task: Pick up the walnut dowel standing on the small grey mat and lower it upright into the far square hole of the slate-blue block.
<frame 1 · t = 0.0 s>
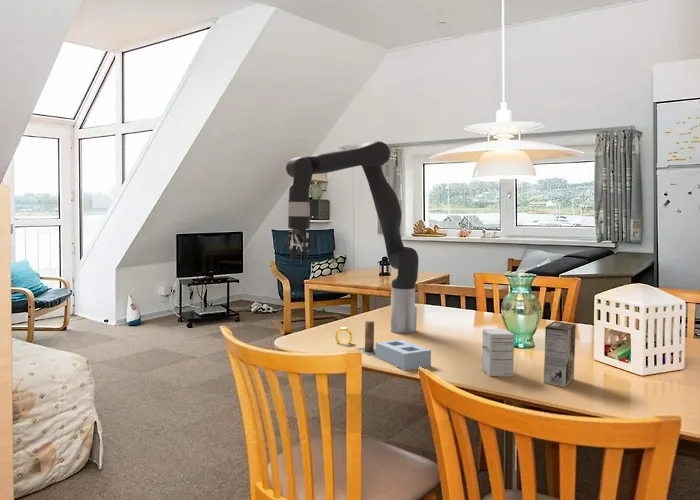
hand: (298, 261, 200), 29 cm above the table, tool pointing down, fingers open, 8 cm apart
supplement box: (497, 373, 169), on the table
mat: (369, 352, 191), on the table
watch: (343, 344, 203), on the table
coffee box: (558, 381, 162), on the table
dowel: (369, 351, 191), resting on mat
hole block: (402, 361, 180), on the table
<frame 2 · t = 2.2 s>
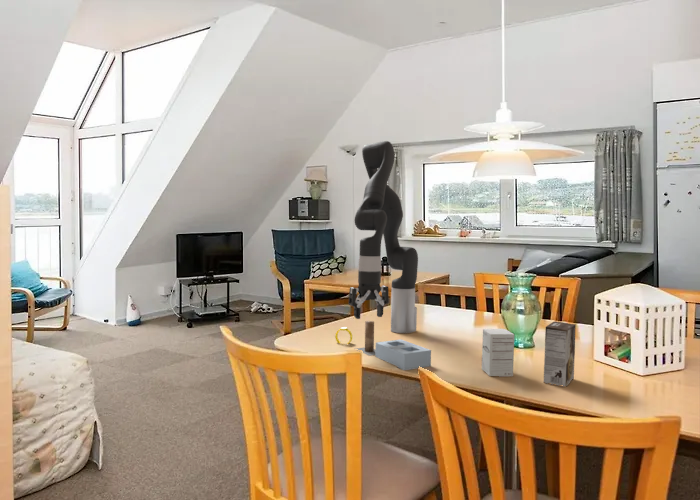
hand: (368, 317, 191), 12 cm above the table, tool pointing down, fingers open, 8 cm apart
nothing on the table moved.
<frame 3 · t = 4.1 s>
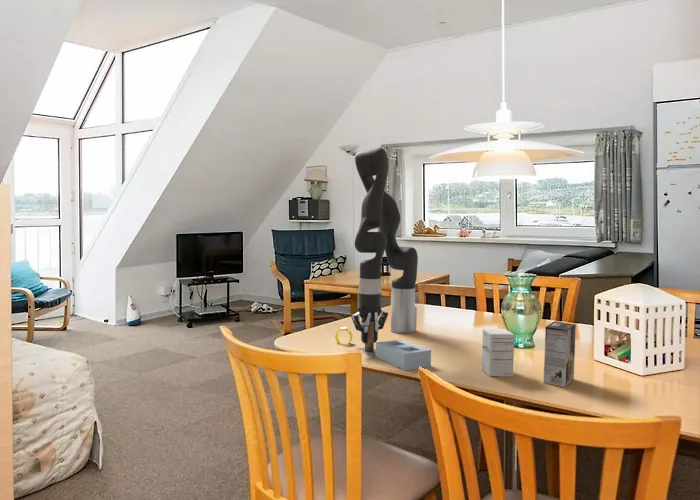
hand: (369, 342, 191), 3 cm above the table, tool pointing down, fingers closed on dowel, 3 cm apart
dowel: (369, 351, 191), resting on mat, touching gripper
everything else where it was.
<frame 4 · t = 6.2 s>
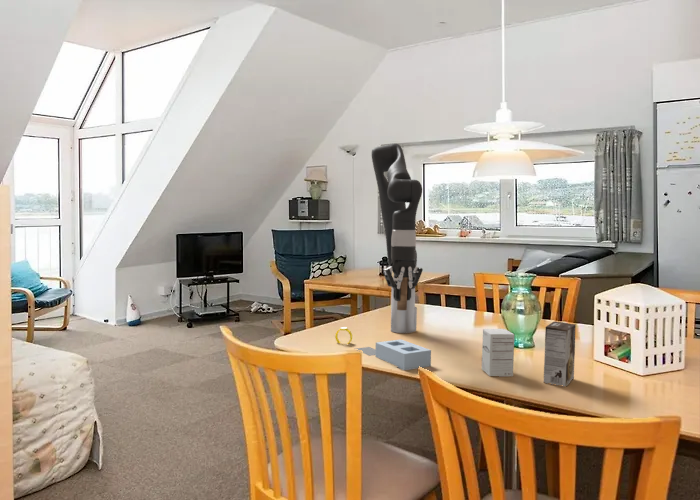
hand: (402, 300, 176), 20 cm above the table, tool pointing down, fingers closed on dowel, 3 cm apart
dowel: (401, 309, 177), point 17 cm above the table, touching gripper
everything else where it was.
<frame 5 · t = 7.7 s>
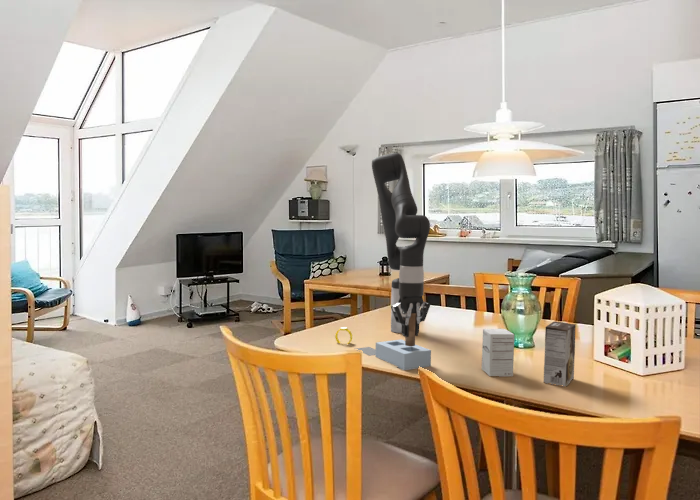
hand: (410, 335, 176), 9 cm above the table, tool pointing down, fingers closed on dowel, 3 cm apart
dowel: (410, 345, 176), point 6 cm above the table, touching gripper
everything else where it was.
when the fingers open (6 cm above the table, at t = 8.7 s): dowel drops 3 cm, resting in hole block.
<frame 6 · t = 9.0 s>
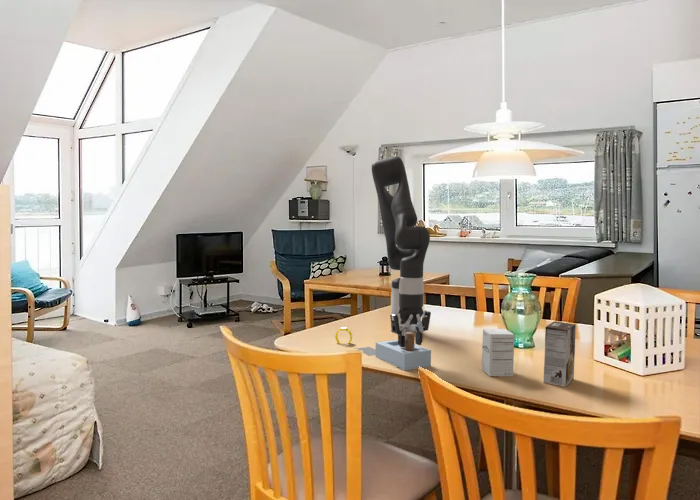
hand: (410, 345, 176), 6 cm above the table, tool pointing down, fingers open, 5 cm apart
dowel: (409, 365, 176), resting in hole block
everything else where it was.
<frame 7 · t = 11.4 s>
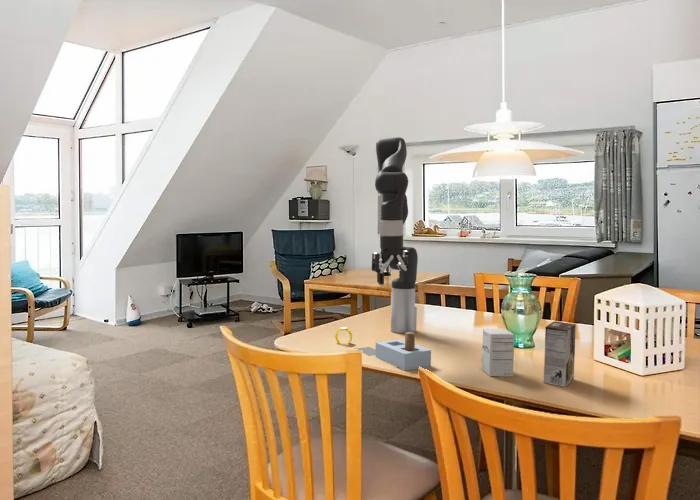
hand: (391, 283, 187), 24 cm above the table, tool pointing down, fingers open, 8 cm apart
nothing on the table moved.
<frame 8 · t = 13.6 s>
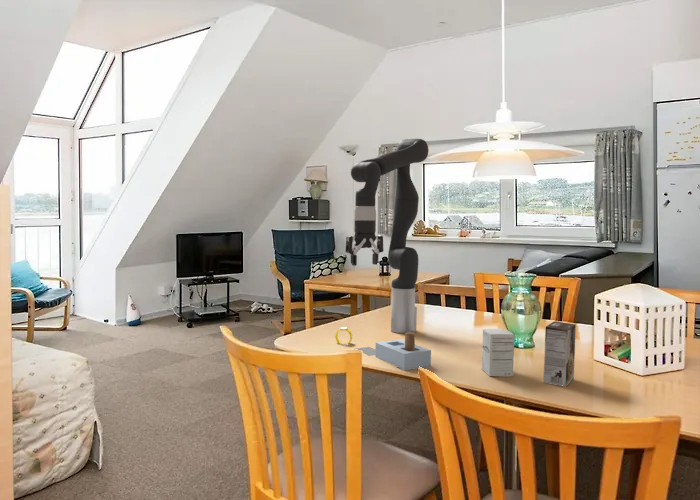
hand: (364, 264, 202), 28 cm above the table, tool pointing down, fingers open, 8 cm apart
nothing on the table moved.
at the end: dowel 0.1 cm from the target spot on the hole block, point 0.0 cm above the hole block's base; dowel tilted 0°; the gripper is holding nothing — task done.
